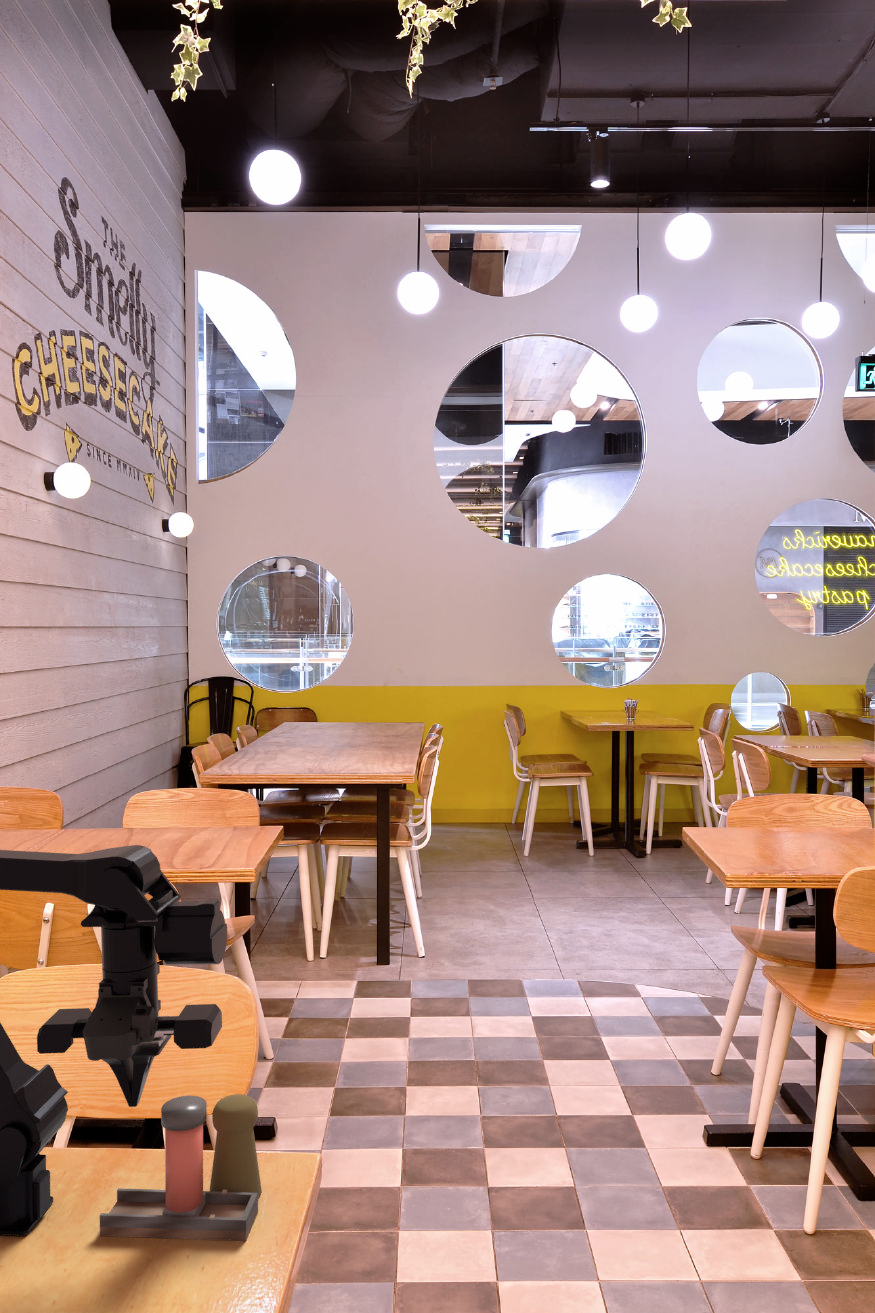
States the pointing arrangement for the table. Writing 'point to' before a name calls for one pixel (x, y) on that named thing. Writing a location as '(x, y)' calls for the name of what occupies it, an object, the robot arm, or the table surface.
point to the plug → (184, 1155)
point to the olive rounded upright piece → (235, 1146)
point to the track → (145, 1216)
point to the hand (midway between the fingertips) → (134, 1105)
